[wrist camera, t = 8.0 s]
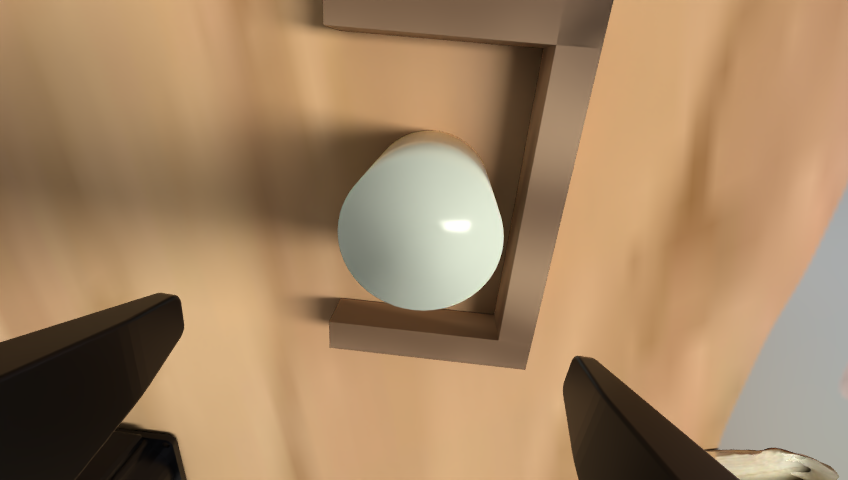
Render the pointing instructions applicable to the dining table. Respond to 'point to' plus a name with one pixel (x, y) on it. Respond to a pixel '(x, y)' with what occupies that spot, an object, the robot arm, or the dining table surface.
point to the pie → (773, 465)
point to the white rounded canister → (422, 223)
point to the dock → (539, 178)
